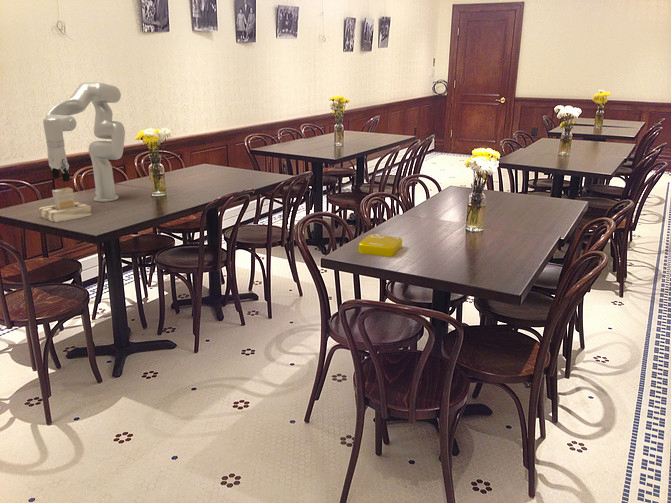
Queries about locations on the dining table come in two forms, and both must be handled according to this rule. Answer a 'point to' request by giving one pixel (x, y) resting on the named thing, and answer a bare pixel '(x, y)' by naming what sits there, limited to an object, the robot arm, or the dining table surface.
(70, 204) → the supplement box
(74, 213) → the well
